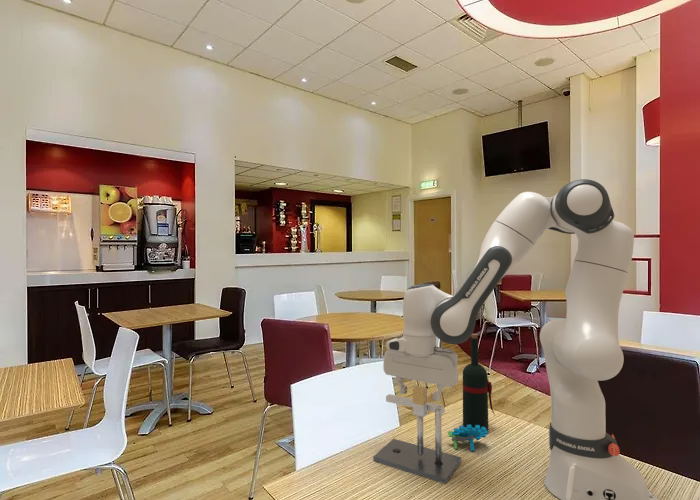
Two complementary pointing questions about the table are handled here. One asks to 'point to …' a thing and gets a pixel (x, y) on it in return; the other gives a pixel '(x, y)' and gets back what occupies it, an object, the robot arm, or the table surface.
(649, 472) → the table surface
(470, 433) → the gear
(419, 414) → the leg
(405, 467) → the bolt plate
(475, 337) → the wine bottle
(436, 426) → the divider frame
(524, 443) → the table surface
